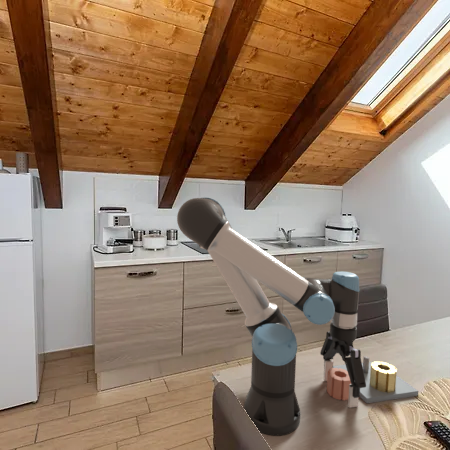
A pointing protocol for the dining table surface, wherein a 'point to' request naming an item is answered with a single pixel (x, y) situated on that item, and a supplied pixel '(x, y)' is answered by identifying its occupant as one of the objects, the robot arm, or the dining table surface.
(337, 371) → the gear red
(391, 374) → the gear brass
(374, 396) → the peg board
